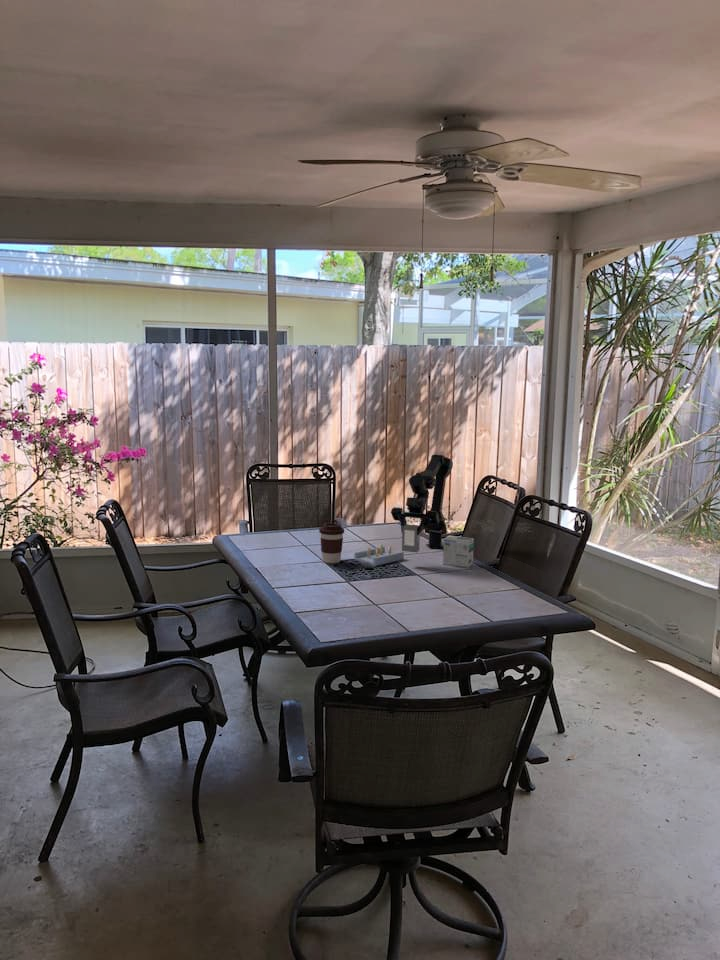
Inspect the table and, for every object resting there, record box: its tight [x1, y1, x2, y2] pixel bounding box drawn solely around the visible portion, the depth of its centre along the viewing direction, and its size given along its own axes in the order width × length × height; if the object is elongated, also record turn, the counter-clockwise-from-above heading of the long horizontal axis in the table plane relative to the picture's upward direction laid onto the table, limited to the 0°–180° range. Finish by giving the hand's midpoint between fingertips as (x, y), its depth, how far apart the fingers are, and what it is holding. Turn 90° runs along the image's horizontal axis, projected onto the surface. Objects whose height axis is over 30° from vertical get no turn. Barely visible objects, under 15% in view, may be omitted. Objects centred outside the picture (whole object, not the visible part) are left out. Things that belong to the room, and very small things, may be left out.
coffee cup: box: [318, 522, 345, 564], centre depth 302 cm, size 10×10×15 cm
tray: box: [354, 544, 405, 567], centre depth 307 cm, size 16×12×5 cm
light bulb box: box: [442, 535, 475, 568], centre depth 302 cm, size 11×7×11 cm, turn 65°
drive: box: [401, 523, 421, 553], centre depth 298 cm, size 4×6×10 cm, turn 68°
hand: (409, 533), depth 296 cm, fingers closed on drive, 6 cm apart
